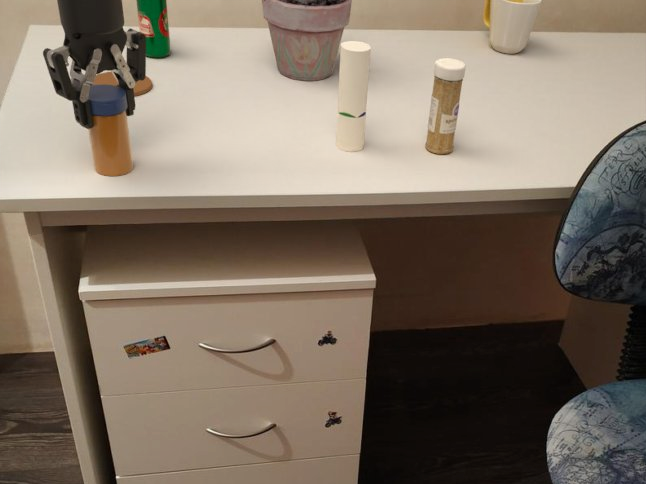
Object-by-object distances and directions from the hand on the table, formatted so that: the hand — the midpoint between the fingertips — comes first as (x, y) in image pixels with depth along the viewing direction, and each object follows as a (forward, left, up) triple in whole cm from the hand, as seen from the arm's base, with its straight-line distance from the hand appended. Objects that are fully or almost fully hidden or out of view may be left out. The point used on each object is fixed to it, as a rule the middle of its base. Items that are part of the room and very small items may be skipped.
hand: (107, 119), depth 108 cm
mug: (+92, -7, -7) cm, 93 cm away
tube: (+31, -17, -7) cm, 36 cm away
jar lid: (0, 0, +3) cm, 3 cm away
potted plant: (+48, +8, -7) cm, 49 cm away
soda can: (+33, +31, -7) cm, 46 cm away
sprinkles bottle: (+41, -27, -7) cm, 50 cm away
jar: (0, 0, -7) cm, 7 cm away
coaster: (+19, +23, -7) cm, 31 cm away
